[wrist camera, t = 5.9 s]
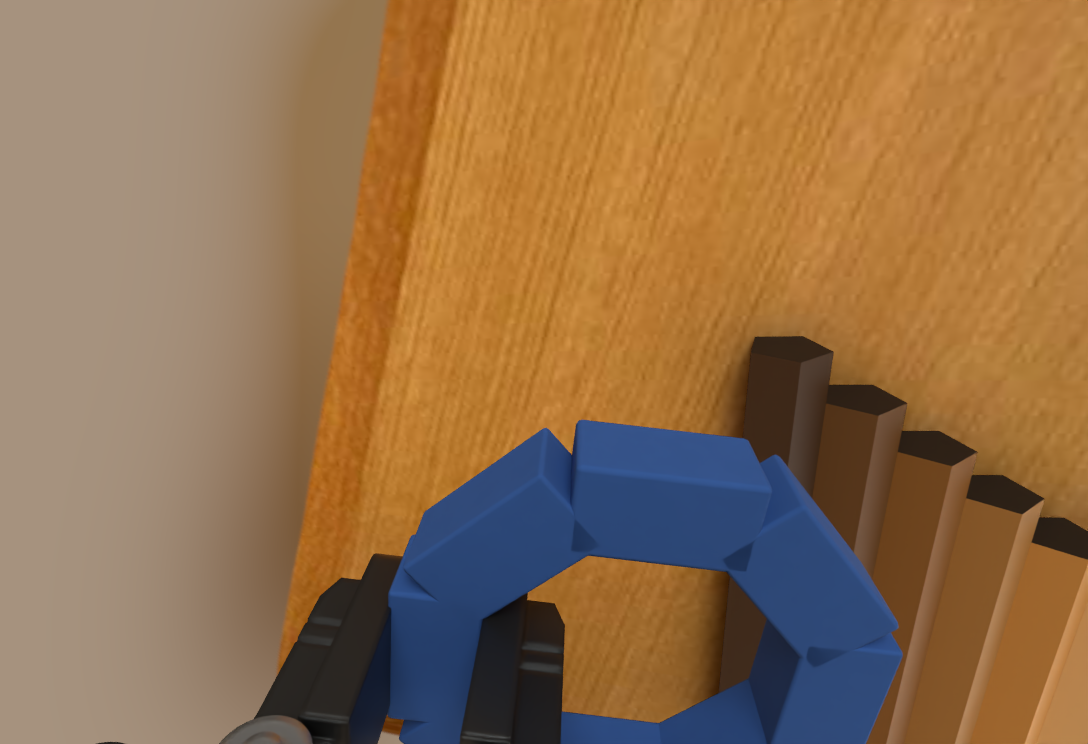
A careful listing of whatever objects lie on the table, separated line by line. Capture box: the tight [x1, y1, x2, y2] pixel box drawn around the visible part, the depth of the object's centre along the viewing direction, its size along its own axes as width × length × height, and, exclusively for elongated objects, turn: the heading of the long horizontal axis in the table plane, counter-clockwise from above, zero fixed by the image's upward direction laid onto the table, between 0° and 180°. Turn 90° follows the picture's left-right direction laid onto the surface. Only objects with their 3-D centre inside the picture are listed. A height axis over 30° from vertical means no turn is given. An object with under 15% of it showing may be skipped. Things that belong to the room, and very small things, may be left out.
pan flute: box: [719, 336, 1088, 744], centre depth 33 cm, size 25×3×25 cm
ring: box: [387, 420, 903, 744], centre depth 12 cm, size 8×8×2 cm
